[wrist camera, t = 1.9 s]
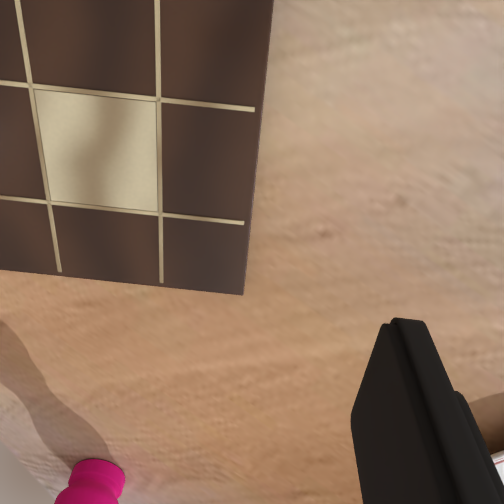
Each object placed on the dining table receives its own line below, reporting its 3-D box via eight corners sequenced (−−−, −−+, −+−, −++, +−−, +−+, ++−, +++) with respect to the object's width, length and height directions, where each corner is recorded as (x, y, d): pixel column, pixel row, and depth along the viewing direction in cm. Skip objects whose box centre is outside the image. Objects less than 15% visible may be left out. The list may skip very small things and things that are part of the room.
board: (274, -10, 27) (274, -10, 26) (244, 285, 39) (243, 296, 37) (-88, -49, 27) (-108, -51, 26) (-11, 257, 39) (-22, 268, 37)
